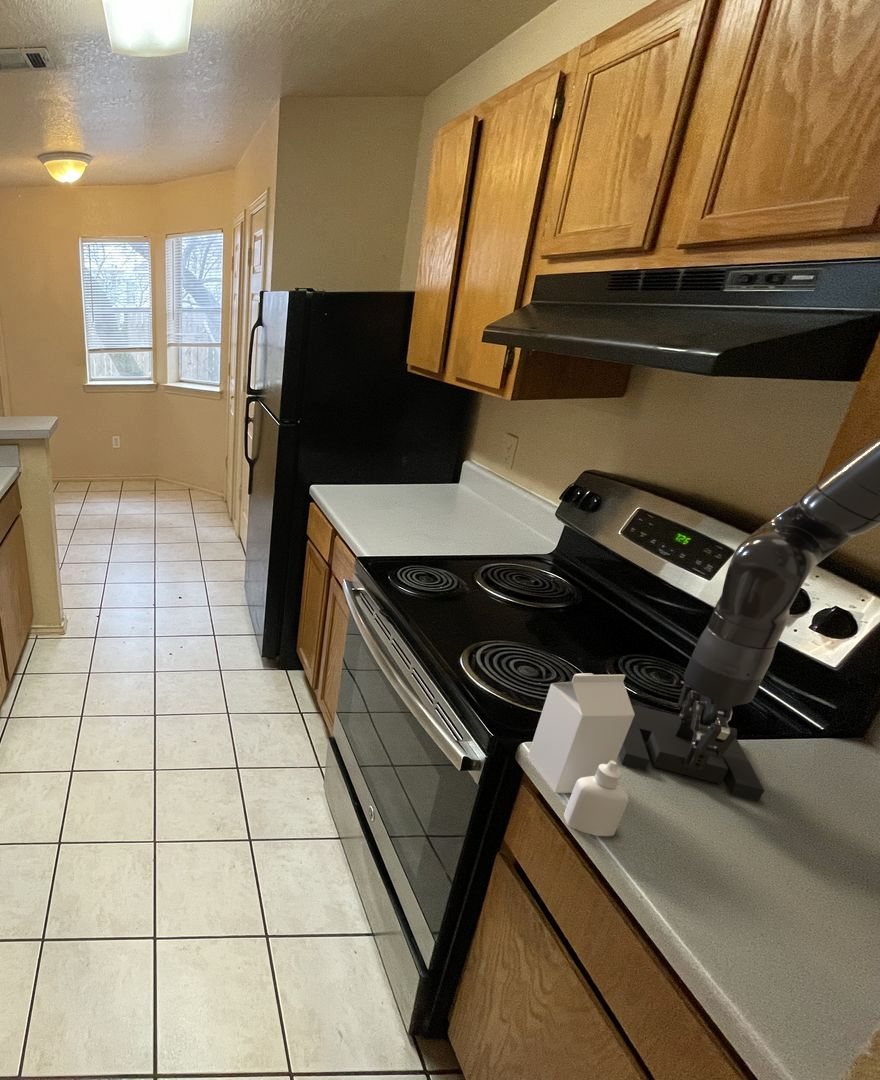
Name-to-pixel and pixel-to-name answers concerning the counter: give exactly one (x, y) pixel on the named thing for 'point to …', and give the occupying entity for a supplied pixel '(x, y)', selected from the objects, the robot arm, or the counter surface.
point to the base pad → (739, 768)
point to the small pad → (682, 758)
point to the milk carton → (580, 728)
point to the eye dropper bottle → (597, 802)
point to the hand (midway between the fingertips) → (686, 754)
